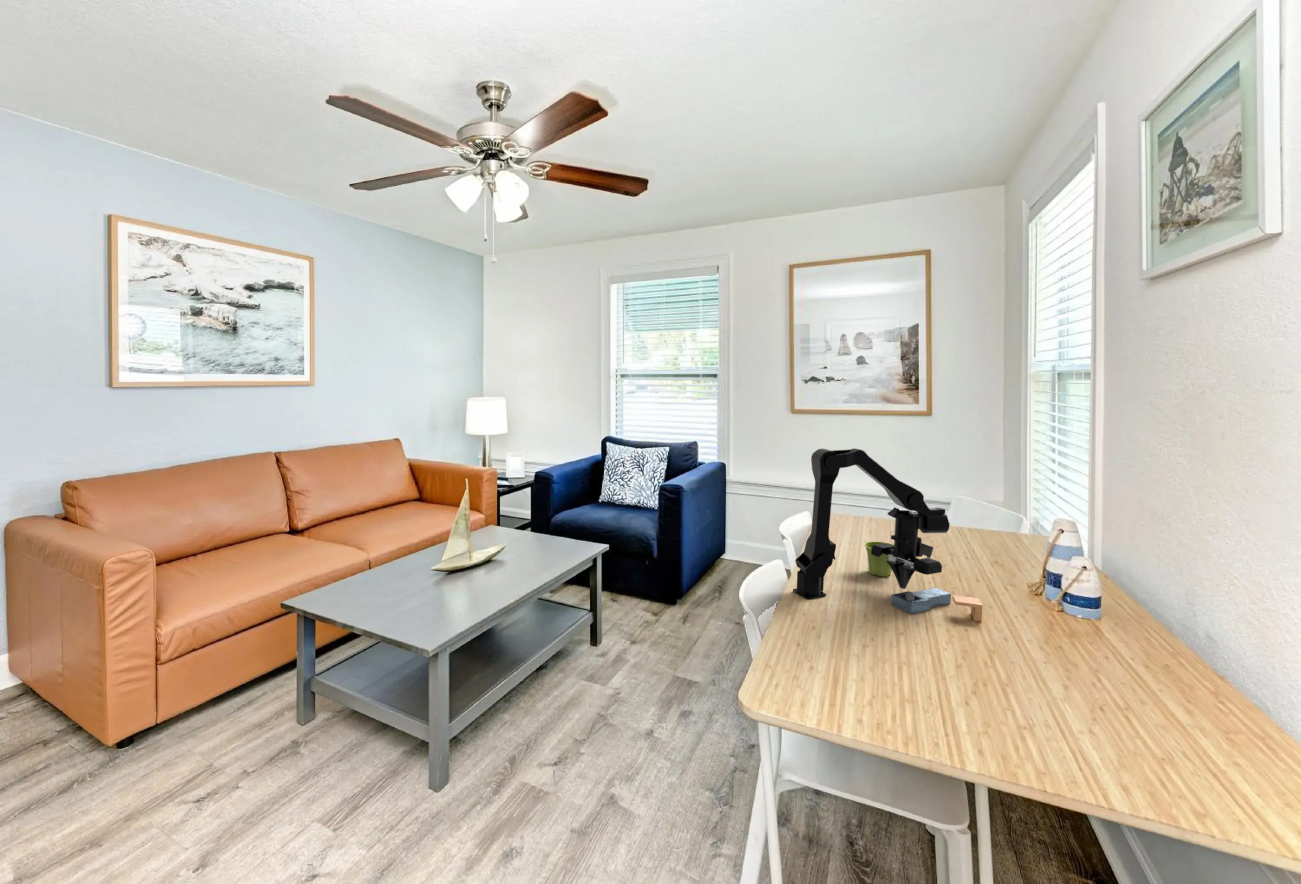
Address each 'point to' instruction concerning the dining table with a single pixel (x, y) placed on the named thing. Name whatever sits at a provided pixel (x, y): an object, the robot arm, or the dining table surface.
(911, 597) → the cylinder
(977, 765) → the dining table surface
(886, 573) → the plant pot
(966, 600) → the keeper
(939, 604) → the link
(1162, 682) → the dining table surface
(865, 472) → the robot arm
